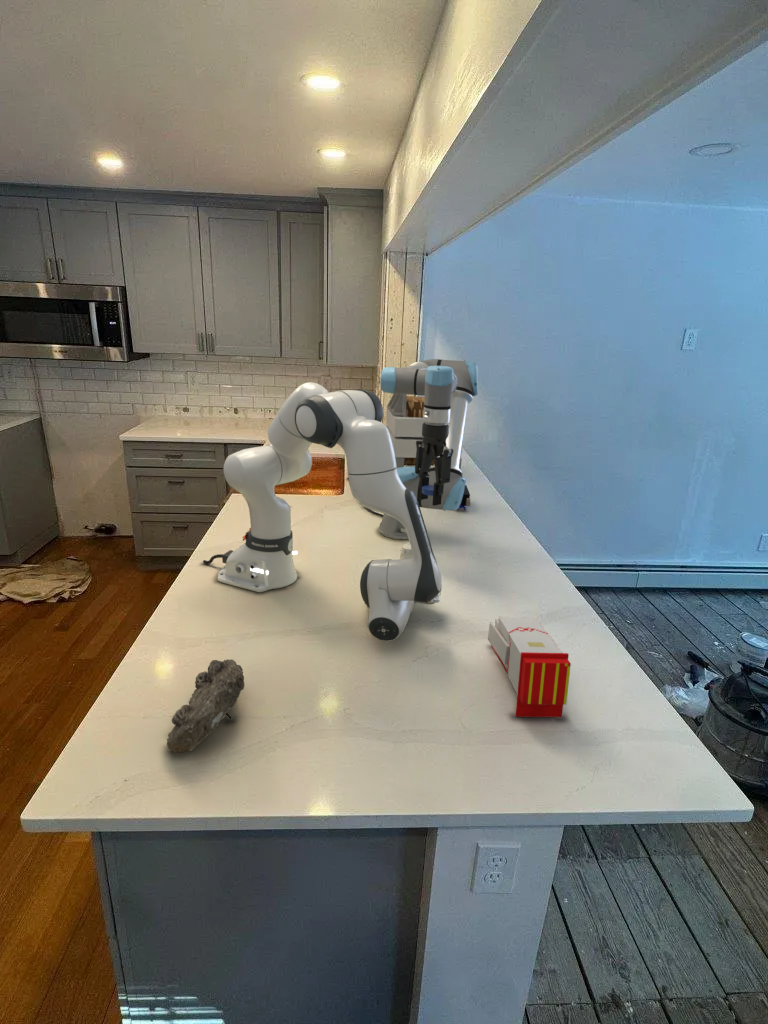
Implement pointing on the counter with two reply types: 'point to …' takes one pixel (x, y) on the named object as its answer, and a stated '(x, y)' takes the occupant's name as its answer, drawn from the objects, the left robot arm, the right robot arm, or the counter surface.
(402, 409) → the grey slatted crate
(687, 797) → the counter surface
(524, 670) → the toy
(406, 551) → the bottle
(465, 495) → the figurine character
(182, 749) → the fossil
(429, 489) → the lid
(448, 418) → the right robot arm
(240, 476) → the left robot arm
